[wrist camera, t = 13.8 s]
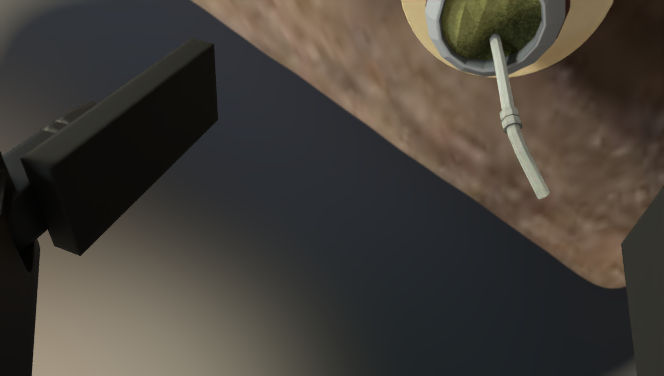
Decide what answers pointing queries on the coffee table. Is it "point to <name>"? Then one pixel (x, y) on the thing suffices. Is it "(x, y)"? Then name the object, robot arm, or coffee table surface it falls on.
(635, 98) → the coffee table surface
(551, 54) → the jar
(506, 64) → the mate gourd
